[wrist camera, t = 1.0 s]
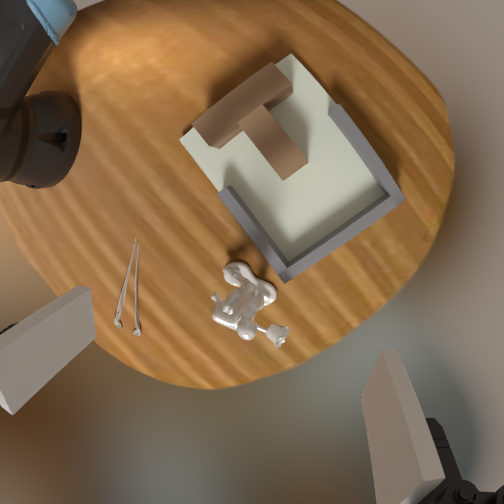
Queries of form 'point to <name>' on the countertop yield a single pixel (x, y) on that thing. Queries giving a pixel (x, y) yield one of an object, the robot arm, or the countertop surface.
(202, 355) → the countertop surface
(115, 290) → the countertop surface
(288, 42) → the countertop surface
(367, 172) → the board
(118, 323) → the silver tweezers
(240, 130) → the t block
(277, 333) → the figurine
